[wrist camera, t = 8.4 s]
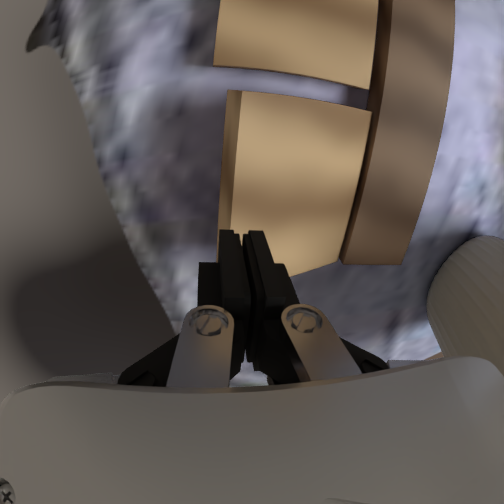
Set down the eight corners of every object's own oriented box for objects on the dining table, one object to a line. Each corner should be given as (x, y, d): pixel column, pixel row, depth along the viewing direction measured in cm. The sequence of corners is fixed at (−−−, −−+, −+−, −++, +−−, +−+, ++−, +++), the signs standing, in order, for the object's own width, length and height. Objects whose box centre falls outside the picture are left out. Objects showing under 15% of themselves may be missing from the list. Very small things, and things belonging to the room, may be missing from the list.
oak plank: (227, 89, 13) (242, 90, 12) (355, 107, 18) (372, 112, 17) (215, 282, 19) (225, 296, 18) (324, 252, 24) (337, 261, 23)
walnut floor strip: (380, -43, 11) (393, -49, 9) (439, -12, 12) (454, -15, 10) (334, 251, 24) (343, 264, 23) (390, 252, 25) (400, 264, 24)
